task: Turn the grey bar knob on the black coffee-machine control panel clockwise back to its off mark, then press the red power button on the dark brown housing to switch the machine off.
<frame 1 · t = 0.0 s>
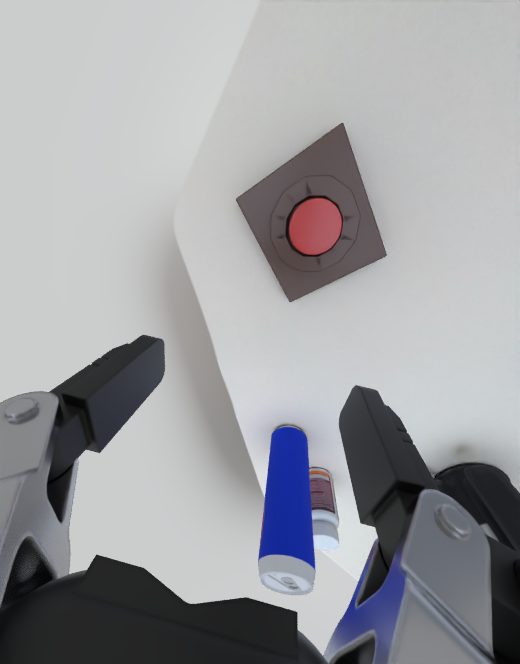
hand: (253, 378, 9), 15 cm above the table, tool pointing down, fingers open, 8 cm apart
beverage can: (289, 434, 32), on the table
pill bottle: (316, 474, 36), on the table
power button: (314, 227, 16), point 4 cm above the table, slide at 0.1 cm
button housing: (310, 227, 20), on the table
milk frother: (435, 480, 32), on the table
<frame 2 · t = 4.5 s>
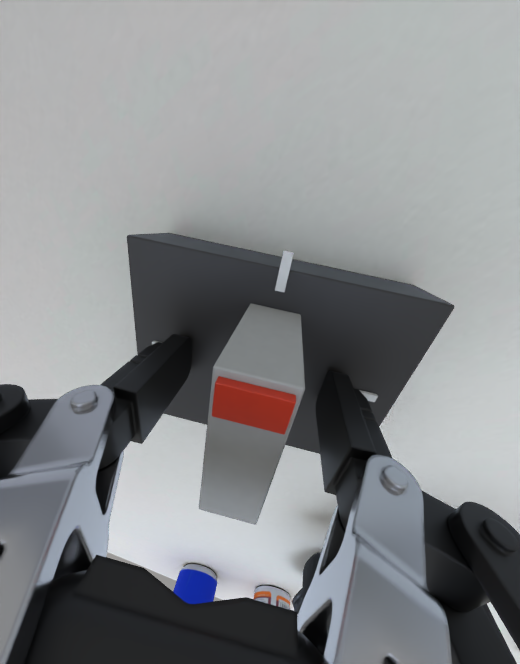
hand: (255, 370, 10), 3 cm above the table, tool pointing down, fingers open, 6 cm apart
beverage can: (200, 569, 29), on the table
pill bottle: (272, 590, 29), on the table
dial panel: (268, 338, 12), on the table
dial: (252, 408, 8), point 5 cm above the table, hinge at 90.0°
milk frother: (365, 553, 21), on the table
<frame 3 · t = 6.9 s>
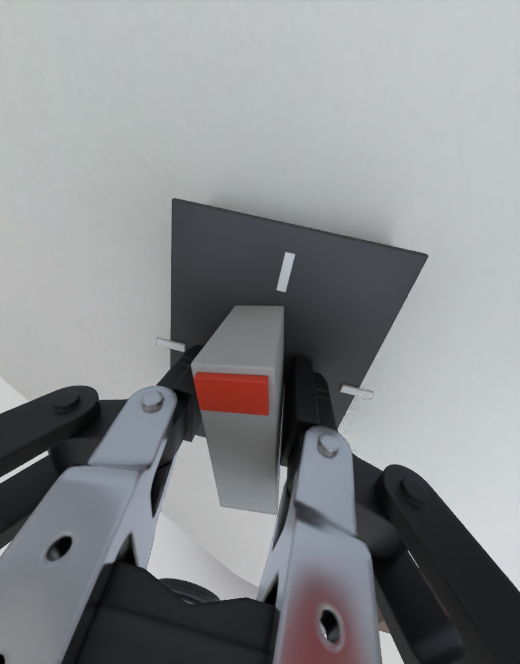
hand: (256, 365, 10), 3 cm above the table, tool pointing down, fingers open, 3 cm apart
dial panel: (269, 337, 13), on the table
dial: (253, 402, 8), point 5 cm above the table, hinge at 13.7°
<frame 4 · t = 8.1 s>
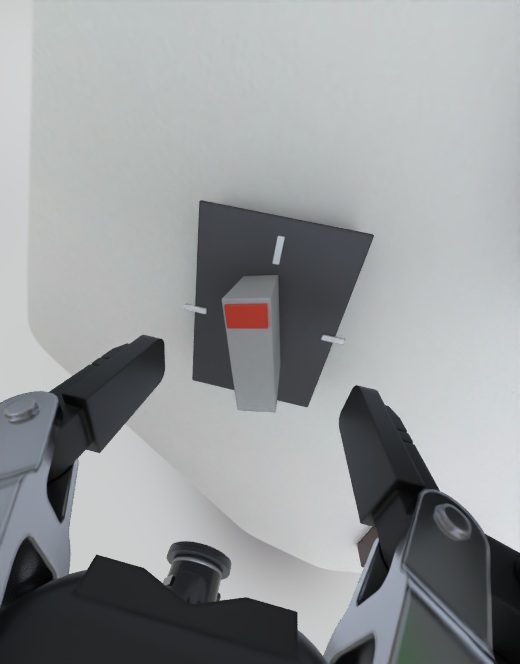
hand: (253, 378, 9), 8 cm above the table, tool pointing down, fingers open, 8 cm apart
dial panel: (268, 307, 16), on the table
dial: (258, 341, 12), point 5 cm above the table, hinge at 13.7°
button housing: (407, 537, 27), on the table
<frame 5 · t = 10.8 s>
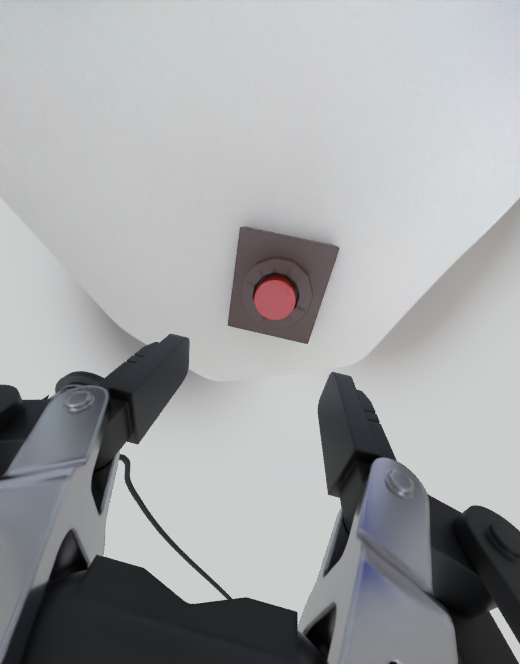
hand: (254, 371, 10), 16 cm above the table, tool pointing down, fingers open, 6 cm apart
power button: (275, 297, 19), point 4 cm above the table, slide at 0.1 cm
button housing: (278, 285, 23), on the table
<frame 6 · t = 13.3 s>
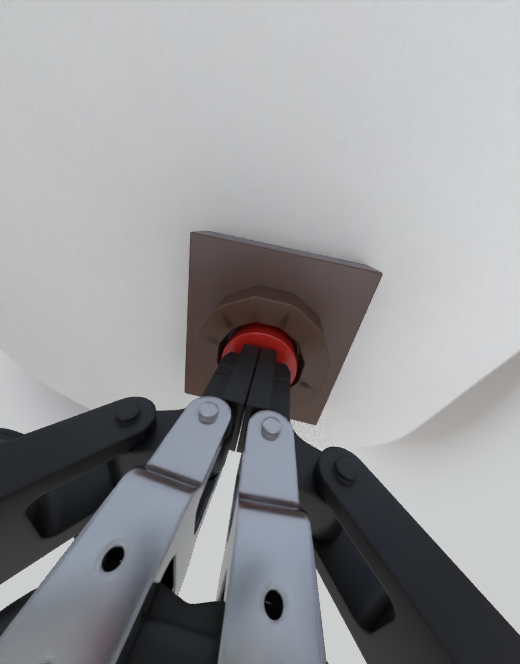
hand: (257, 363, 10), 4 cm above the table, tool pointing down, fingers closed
power button: (260, 357, 11), point 3 cm above the table, slide at -0.9 cm, touching gripper
button housing: (268, 328, 14), on the table
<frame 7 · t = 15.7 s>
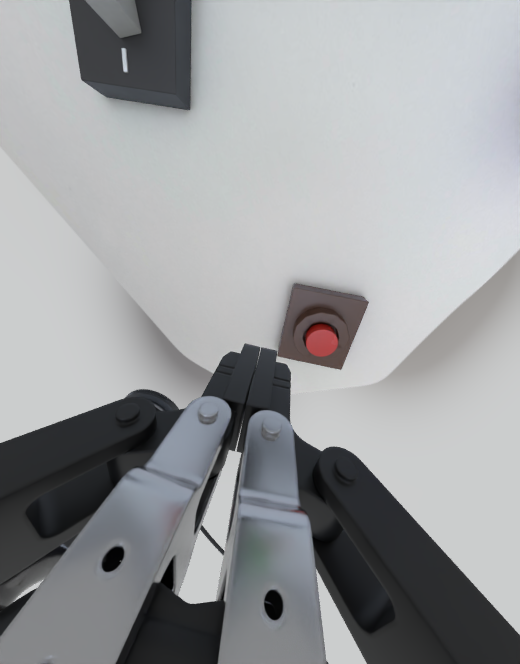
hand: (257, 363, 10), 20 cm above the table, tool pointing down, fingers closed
dial panel: (142, 12, 19), on the table
power button: (321, 340, 26), point 4 cm above the table, slide at 0.1 cm
button housing: (317, 324, 30), on the table
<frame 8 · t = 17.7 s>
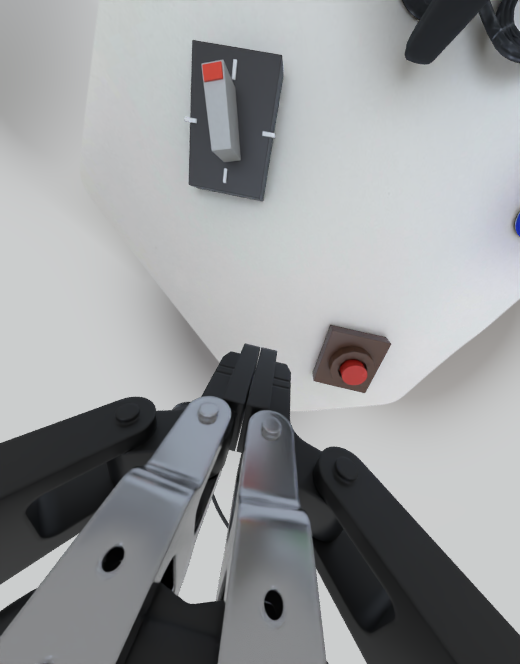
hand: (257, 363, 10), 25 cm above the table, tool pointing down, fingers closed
dial panel: (236, 137, 26), on the table
power button: (353, 372, 33), point 4 cm above the table, slide at 0.1 cm
dial: (223, 118, 22), point 5 cm above the table, hinge at 13.7°
button housing: (346, 356, 37), on the table
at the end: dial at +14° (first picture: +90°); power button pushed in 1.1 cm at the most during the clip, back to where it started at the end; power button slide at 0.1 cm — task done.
